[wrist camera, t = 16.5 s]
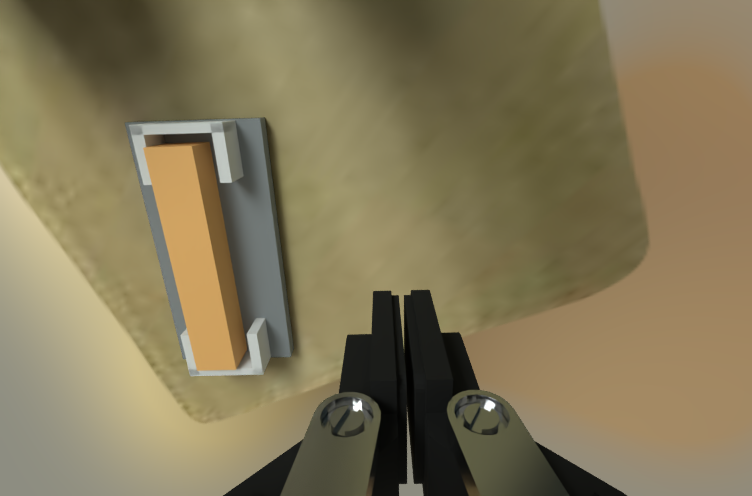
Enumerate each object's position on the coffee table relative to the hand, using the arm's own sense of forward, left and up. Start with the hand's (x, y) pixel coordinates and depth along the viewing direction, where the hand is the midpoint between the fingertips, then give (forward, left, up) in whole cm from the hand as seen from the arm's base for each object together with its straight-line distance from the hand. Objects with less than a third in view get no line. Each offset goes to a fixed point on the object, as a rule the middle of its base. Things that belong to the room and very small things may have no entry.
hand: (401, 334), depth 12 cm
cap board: (+7, -17, -27) cm, 33 cm away
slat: (+7, -18, -26) cm, 32 cm away
